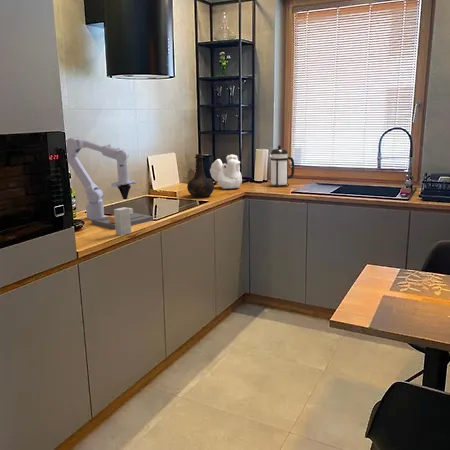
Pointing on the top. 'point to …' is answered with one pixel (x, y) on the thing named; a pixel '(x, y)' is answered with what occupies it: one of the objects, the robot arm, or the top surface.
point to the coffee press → (280, 167)
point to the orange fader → (112, 219)
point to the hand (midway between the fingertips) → (125, 198)
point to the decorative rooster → (227, 172)
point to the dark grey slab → (134, 220)
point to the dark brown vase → (200, 181)
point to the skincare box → (122, 221)
